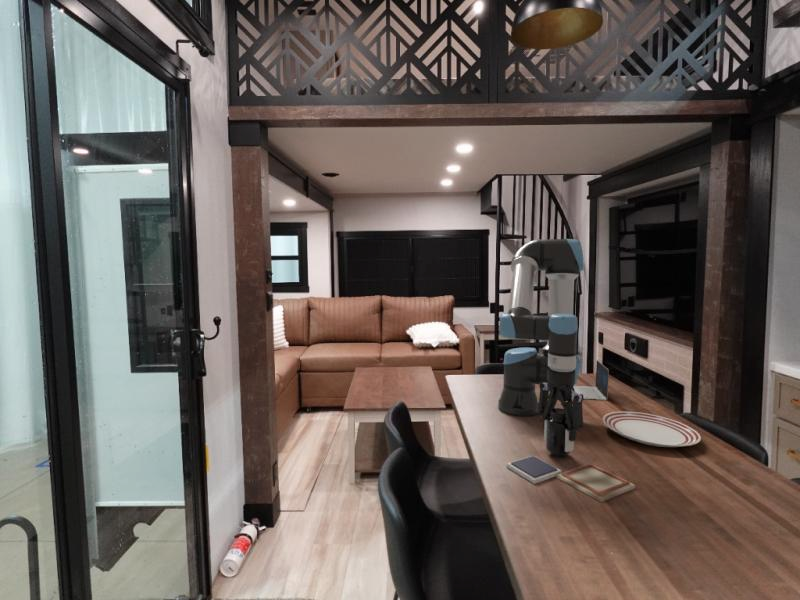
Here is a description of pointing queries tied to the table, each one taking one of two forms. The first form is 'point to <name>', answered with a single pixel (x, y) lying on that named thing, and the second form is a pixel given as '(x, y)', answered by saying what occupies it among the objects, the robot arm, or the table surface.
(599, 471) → the board
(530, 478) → the ink pad
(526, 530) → the table surface
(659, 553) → the table surface
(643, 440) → the dinner plate
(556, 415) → the supplement bottle
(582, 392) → the laptop
